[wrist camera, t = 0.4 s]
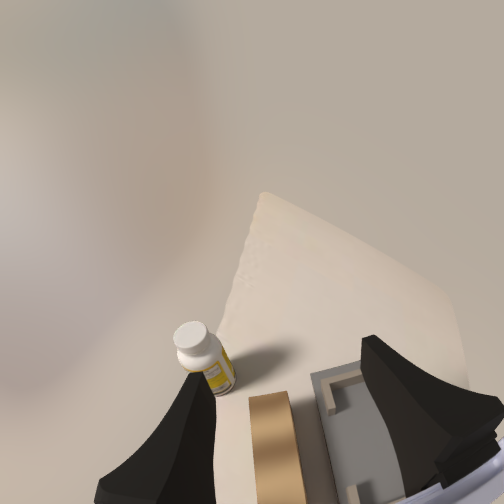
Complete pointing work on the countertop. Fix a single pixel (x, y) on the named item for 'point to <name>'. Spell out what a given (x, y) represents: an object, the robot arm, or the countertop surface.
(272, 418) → the oak slat
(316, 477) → the countertop surface
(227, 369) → the supplement bottle
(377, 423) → the cap board
